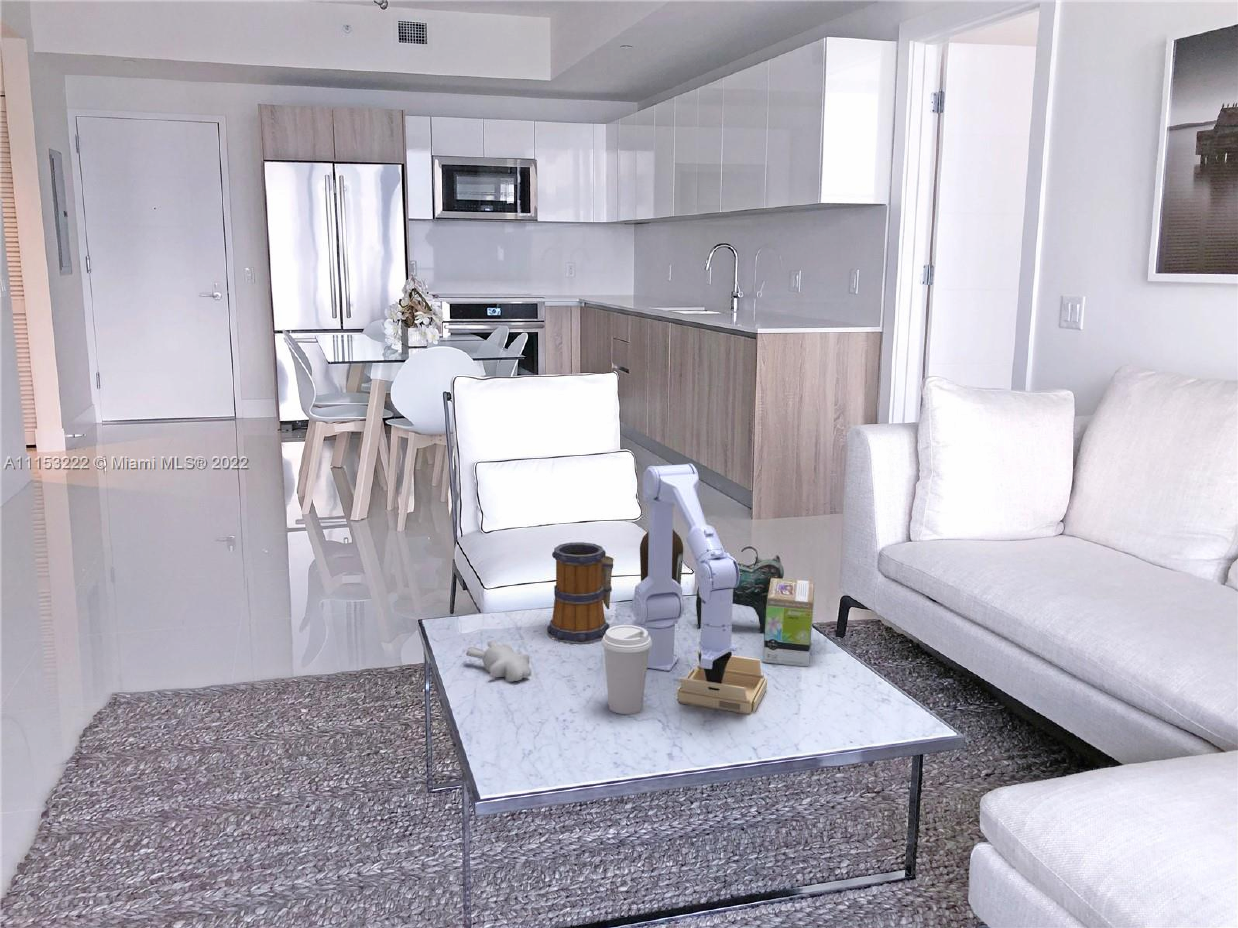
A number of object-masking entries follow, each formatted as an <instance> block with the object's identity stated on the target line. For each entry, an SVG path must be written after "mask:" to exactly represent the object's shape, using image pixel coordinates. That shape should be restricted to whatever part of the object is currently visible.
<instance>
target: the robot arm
mask: <svg viewBox="0 0 1238 928" xmlns="http://www.w3.org/2000/svg"><path fill="white" fill-rule="evenodd" d="M699 477H700V476H699V473H698V470H697V468H696V467H695V466H694V464H693V463H686V464H673V465H671V464H670V465H657V466H654V465H649V466H647V469H646V470H645V471H644V472H643V475H642V498H643V499H642V500H643V501H644V502H645V503H649V505H648V531H649V548H648V576H647V577H646V578H645V579H644V580H643V581H641V580H640V582H639V583H637V584H636V585H635V588H634V595H633V597H632V598H633V599H632V602H631V603H632V604H631V608H632V609H631V610H632V613H633V614H632V615H633V616H634V617H633V618H634V619H633V620H632V621H631V623H630V625H633V626H638V627H642V628H644V629H645V630H647V632H648V635H649V636H650V638H651V641H652V646H651V647H650V648H649V654H648V662H647V669H653V670H660V671H668V672H669V671H671V670H672V669H673V667H674V666H675V664H677V662H678V661H679V659H680V655H678V654H675V632H676V631H675V630H676V629H675V628H676V627H675V626H676V625H677V624H679V620H680V619H682V617H683V615H684V612H685V601H684V597H683V588H682V586H680V585H679V583H677V582H676V581H675V580H673V579H672V537H673V530H674V528H673V527H674V507H675V508H676V510H677V511H678V513H679V516H680V517H681V519H682V521H683V523H684V524H685V526H686V528H687V530H688V531H689V532H688V534H687V536H686V542H687V544H688V547H689V549H690V551H691V554H692V556H693V558H694V561H695V564H696V565H697V570H696V572H695V574H696V581H697V584H698V586H699V596H700V598H702V603H701V629H700V638H699V639H700V641H699V644H698V647H699V651H700V654H699V658H698V662H699V661H700V662H701V668H703V669H704V671H705V675H706V680H707V682H714V683H720V684H722V680H723V676H724V672H725V668H726V665H727V663H728V661H729V659H730V657H731V656H732V654H733V652H734V653H735V652H737V650H738V644H736V643H732V630H733V606H734V605H733V589H732V588H736V587H737V586H738V584H739V580H740V572H739V567H738V564H737V563H738V562H737V560H736V559H735V557H733V556H731V555H730V552H725V549H724V547H723V544H722V542H721V540H720V538H719V536H718V533H717V531H716V528H714V526H712V525H708V524H707V521H706V518H705V516H704V512H703V509H702V506H701V503H700V499H699V496H698V491H699V484H700V479H699ZM708 689H710V690H716V691H719V690H720V689H719V688H713V687H708Z"/></svg>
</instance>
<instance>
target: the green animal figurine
mask: <svg viewBox="0 0 1238 928" xmlns="http://www.w3.org/2000/svg"><path fill="white" fill-rule="evenodd" d="M747 549H751V550H753V551H754V552H755V553H756V556H755V562H754V563H752V564H748V565H747V564H744V563H739V562H737V564H738V567H739V572H740V580H739V584H738V586H737V587H736V588H732V589H733V604H734V605H738V606H743V607H747V608H748V607H750V608H752V609H753V610H754V611H755V614H756V615H757V617H758V623H759V634H765V621H766V606H767V598H768V592H769V586H770V580H771V578H778V579H784V576H785V575H784V574H785V571H784V570H785V569H784V567H783V566H784V565H782V562H781V556H779V555H778V554H776V555H775V557H774V558H772V559H769V558H767V559H761V558H760V557H759V555H758V551H757V549H756V548H754V546H746V547H743V548H742V550H741V551H740V552H741V553H743V552H744V551H745V550H747ZM701 603H702V598H700V596H699V585H698V587H697V590H696V601H695V609H696V610H695V611H696V621H697V629H698V630H701Z"/></svg>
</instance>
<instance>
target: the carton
mask: <svg viewBox="0 0 1238 928" xmlns="http://www.w3.org/2000/svg"><path fill="white" fill-rule="evenodd" d="M685 678H688V679H694V680H701V681H707V680H706V675H705V671H704V669H703V668H701V666H700V664H697V667H692V668H691V670H690V671H689V672H688V674H687V675H686V677H685ZM722 684H726V685H733V686H739V687H745V690H746V695H747V700H742V699H736V698H730V697H724V696H717V695H711V694H705V693H699V692H692V691H686V690H682V687H681V684H680V685H679V687H678V688H677V690H676V694H677V695H676V699H677V700H678V704H683V705H684V704H685V705H689V706H695V707H702V708H707V709H712V710H713V709H714V710H719V709H720V711H725V710H728V711H727V712H731V711H733V713H737V712H738V714H743V715H745V714H746V715H751V714H752V713H753V712H756V711H757V709H758V706H759V705H760V702H761V700H762V698H763V697H764V694H765V692H766V690H767V688H768V687H767V686H768V679H767V678H766V677H765V675H764V674H762V673H761V675H760V674H753V673H747V672H740V671H733V670H727V669H725V672H724V676H723V680H722Z"/></svg>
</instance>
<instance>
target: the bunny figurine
mask: <svg viewBox="0 0 1238 928" xmlns="http://www.w3.org/2000/svg"><path fill="white" fill-rule="evenodd" d="M486 645H487V646H488V648H487V649H486V650H483V649H481V648H477V647H475V646H474V647H473V646H472V647H467V649H466V652H465V654H466V656H468V657H471V658H477V659H481V660H482V663H483V665H484V668H485V670H486V671H487V672H488V673H489V677H491V678H504V679H505V681H506V682H508V683H513V682H517V681H521V680H523V679H526V678H529V677H531V676H532V670H533V669H532V668H531V667H530V656H529V655H528V654H525V653H516V652H515V650H514V649H513V648H512V647H511V646H510V645H508V644H506V643H502V644H498V641H496V640H490V641H488V642H487V644H486Z"/></svg>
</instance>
